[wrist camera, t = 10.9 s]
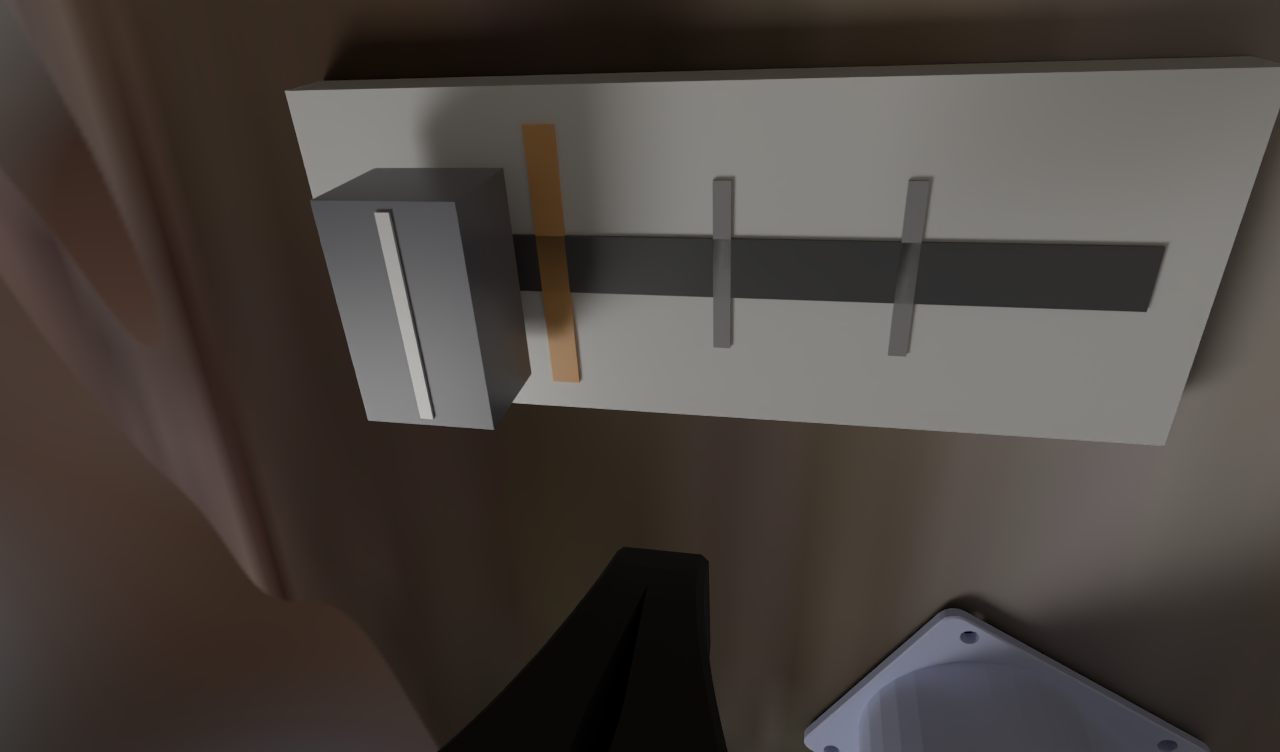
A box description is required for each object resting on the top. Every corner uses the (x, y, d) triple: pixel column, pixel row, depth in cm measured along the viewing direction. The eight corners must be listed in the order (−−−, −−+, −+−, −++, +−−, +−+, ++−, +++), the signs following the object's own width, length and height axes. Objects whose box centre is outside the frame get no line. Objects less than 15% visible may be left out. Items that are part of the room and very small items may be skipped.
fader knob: (517, 157, 17) (453, 203, 14) (543, 357, 19) (492, 431, 16) (394, 158, 17) (307, 202, 15) (434, 351, 20) (366, 422, 17)
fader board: (1252, 55, 15) (1296, 67, 13) (1140, 411, 18) (1166, 448, 17) (321, 81, 19) (282, 91, 17) (390, 367, 22) (362, 394, 21)
